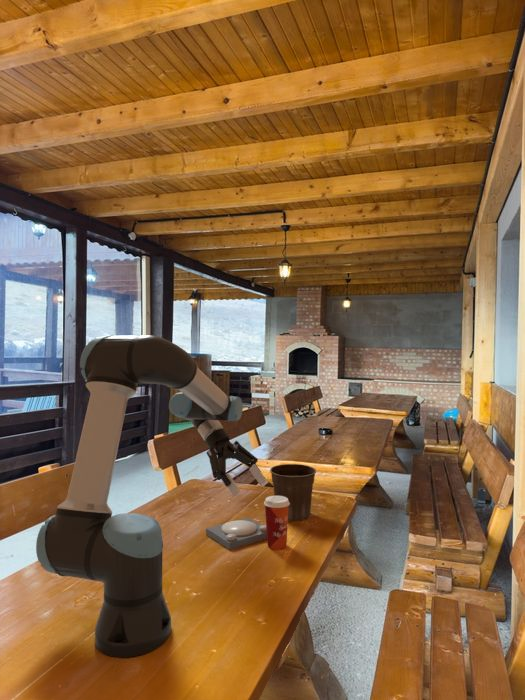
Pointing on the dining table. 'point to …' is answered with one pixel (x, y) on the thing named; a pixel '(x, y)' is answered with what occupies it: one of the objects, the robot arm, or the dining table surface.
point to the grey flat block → (237, 533)
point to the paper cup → (276, 521)
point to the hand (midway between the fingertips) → (250, 488)
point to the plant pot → (294, 488)
